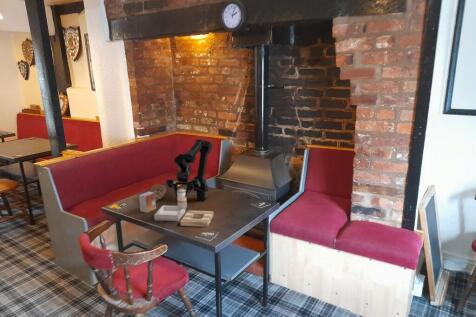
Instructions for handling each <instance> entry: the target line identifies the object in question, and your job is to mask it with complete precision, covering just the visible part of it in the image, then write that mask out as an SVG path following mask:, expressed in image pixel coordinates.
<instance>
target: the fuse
mask: <svg viewBox="0 0 476 317" xmlns="http://www.w3.org/2000/svg"><path fill="white" fill-rule="evenodd" d="M186 190H187V188H184V187H182V188H179V189H177V197H176V198H177V206H178V208H179V209H185V210H186V209H187V208H188V204H187V200H188V199H187V197H185V194H186Z"/></svg>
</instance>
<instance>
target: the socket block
mask: <svg viewBox="0 0 476 317" xmlns="http://www.w3.org/2000/svg"><path fill="white" fill-rule="evenodd" d="M213 217H214V211H209V210H207V211H206V210H187V211H186V212H185V213H184V215H183V216H182V217H181V219H180V220H179V221H180V226H181V227H183V226H185V227H207V228H208V227H209V225H210V223H211V220H212V219H213Z"/></svg>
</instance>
